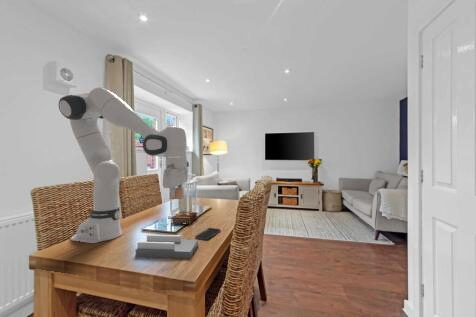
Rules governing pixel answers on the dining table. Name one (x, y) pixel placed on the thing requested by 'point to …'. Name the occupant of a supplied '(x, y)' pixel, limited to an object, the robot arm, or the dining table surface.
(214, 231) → the phone
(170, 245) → the channel
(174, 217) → the decorative book
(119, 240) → the dining table surface
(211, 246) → the dining table surface
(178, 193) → the block
